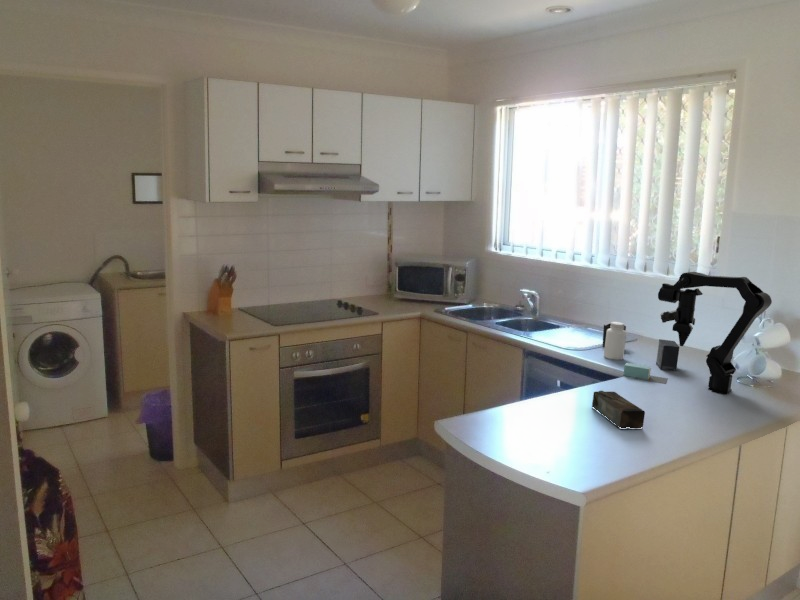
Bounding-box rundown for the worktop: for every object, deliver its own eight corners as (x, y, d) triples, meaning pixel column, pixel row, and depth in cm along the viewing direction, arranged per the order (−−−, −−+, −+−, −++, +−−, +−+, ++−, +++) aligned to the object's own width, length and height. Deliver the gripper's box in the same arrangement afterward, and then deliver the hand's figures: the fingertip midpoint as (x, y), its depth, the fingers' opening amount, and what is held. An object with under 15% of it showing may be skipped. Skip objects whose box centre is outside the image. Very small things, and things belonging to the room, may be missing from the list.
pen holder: (599, 344, 301) (601, 322, 299) (620, 345, 300) (622, 323, 299) (604, 349, 292) (607, 327, 290) (626, 350, 291) (628, 328, 289)
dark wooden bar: (613, 408, 219) (615, 388, 217) (644, 430, 200) (646, 410, 199) (590, 408, 217) (592, 389, 216) (619, 431, 199) (622, 410, 197)
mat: (668, 379, 251) (668, 378, 251) (665, 385, 244) (665, 383, 244) (637, 374, 256) (637, 373, 256) (634, 379, 249) (634, 378, 249)
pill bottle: (625, 361, 274) (628, 325, 271) (605, 359, 275) (608, 324, 273) (621, 356, 282) (625, 321, 279) (602, 354, 283) (605, 320, 280)
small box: (677, 372, 261) (680, 346, 259) (659, 370, 262) (662, 345, 260) (672, 365, 271) (675, 340, 269) (655, 363, 273) (658, 338, 271)
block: (651, 366, 252) (626, 362, 256) (649, 369, 248) (624, 365, 252) (649, 376, 252) (625, 372, 256) (648, 379, 249) (623, 375, 253)
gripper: (666, 298, 259) (661, 337, 262) (660, 306, 242) (655, 347, 245) (697, 302, 253) (692, 342, 256) (693, 310, 237) (687, 352, 240)
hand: (681, 346), depth 250 cm, fingers closed
